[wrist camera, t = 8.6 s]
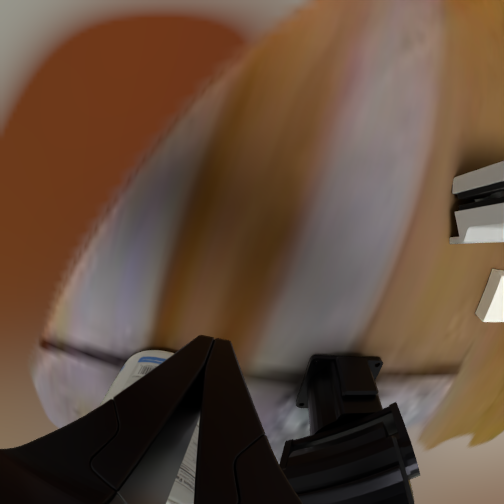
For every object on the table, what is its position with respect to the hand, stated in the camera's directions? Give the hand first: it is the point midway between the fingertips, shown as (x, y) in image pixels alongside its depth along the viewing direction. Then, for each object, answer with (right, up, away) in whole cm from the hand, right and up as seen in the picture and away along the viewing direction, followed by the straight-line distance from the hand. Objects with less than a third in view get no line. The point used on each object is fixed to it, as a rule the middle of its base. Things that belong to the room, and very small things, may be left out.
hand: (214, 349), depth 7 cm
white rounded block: (+24, +7, +9) cm, 26 cm away
